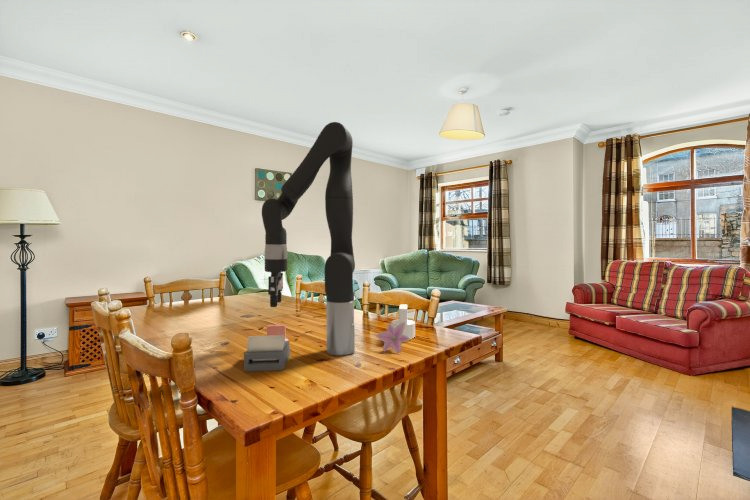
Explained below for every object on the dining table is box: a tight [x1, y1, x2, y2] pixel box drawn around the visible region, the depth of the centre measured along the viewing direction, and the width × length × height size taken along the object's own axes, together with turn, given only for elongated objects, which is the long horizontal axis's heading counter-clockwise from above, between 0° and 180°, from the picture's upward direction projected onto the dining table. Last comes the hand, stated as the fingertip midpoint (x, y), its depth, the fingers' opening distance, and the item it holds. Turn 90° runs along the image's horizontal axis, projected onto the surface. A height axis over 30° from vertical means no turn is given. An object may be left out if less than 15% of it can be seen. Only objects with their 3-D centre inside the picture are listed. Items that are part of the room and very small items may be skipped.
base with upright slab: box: [391, 303, 416, 339], centre depth 135 cm, size 9×9×12 cm
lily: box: [375, 322, 410, 354], centre depth 121 cm, size 11×11×9 cm
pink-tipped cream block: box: [252, 324, 289, 361], centre depth 113 cm, size 8×20×6 cm, turn 6°
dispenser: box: [243, 335, 291, 372], centre depth 108 cm, size 11×14×9 cm
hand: (276, 304), depth 122 cm, fingers open, 8 cm apart
